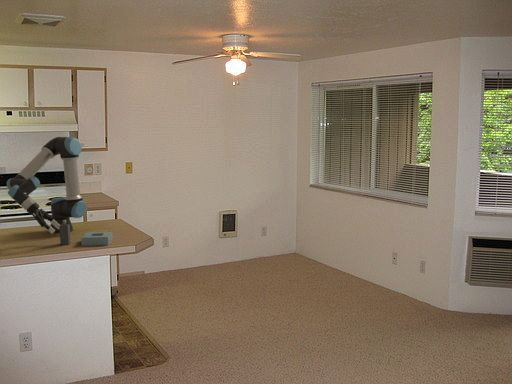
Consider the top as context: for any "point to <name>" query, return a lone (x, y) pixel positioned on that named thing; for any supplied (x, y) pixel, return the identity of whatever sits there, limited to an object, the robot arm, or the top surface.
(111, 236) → the socket
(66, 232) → the gray bottle
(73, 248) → the top surface
